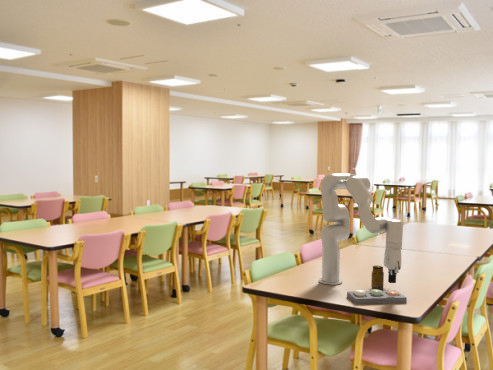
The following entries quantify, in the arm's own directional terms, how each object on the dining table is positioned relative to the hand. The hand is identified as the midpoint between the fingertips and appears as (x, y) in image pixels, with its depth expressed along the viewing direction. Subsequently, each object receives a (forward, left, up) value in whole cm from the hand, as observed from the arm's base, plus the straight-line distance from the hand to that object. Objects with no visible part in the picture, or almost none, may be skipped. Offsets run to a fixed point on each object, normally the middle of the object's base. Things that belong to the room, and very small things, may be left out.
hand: (391, 282), depth 222 cm
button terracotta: (0, 0, -7) cm, 7 cm away
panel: (0, -8, -8) cm, 11 cm away
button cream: (0, -16, -6) cm, 17 cm away
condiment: (-17, +1, -8) cm, 19 cm away
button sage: (0, -8, -6) cm, 10 cm away
